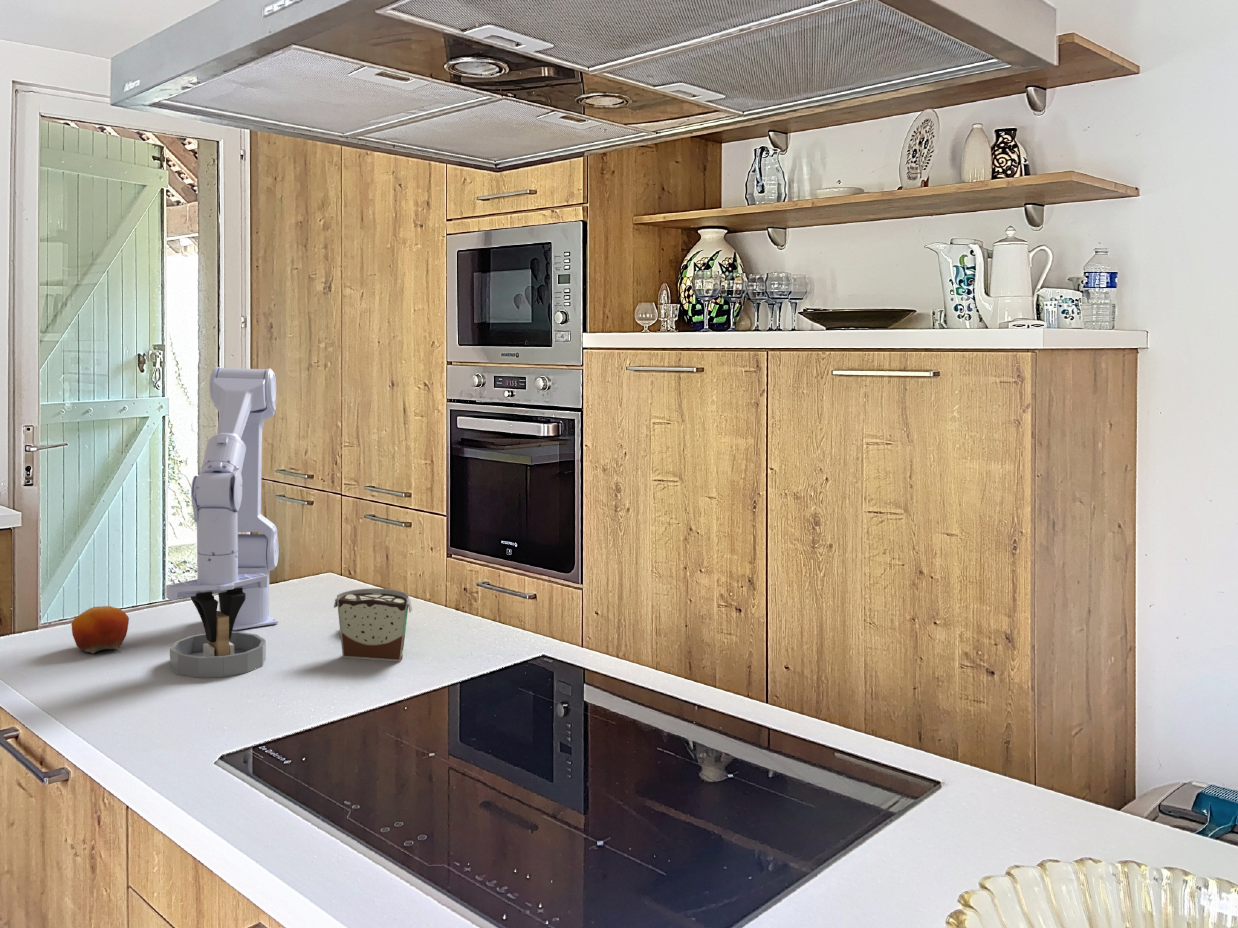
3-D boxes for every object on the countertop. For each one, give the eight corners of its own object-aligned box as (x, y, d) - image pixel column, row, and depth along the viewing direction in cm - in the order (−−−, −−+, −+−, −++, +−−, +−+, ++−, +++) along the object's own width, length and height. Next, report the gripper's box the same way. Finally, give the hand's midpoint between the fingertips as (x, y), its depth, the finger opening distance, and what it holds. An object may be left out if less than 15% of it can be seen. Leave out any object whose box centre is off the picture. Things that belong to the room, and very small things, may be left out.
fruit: (84, 653, 158) (75, 603, 160) (72, 668, 163) (64, 619, 166) (140, 644, 163) (131, 596, 165) (127, 659, 169) (118, 611, 171)
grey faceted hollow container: (159, 659, 161) (159, 640, 160) (244, 645, 169) (244, 627, 169) (189, 683, 151) (189, 663, 151) (278, 666, 160) (278, 647, 159)
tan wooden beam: (208, 656, 161) (208, 612, 160) (219, 654, 162) (218, 610, 161) (218, 663, 158) (218, 618, 157) (229, 661, 159) (228, 616, 158)
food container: (421, 650, 170) (422, 590, 169) (409, 661, 164) (410, 599, 163) (347, 645, 172) (347, 585, 170) (333, 656, 165) (333, 594, 164)
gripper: (177, 562, 150) (178, 654, 152) (275, 551, 160) (275, 637, 161) (160, 553, 156) (162, 642, 157) (256, 543, 165) (257, 627, 167)
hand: (218, 639), depth 160 cm, fingers closed on tan wooden beam, 2 cm apart
